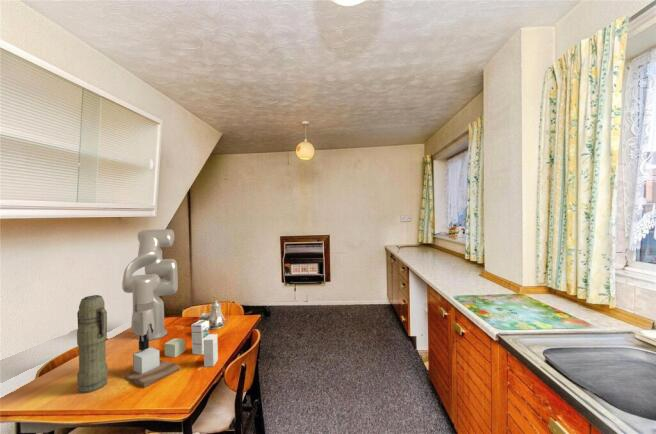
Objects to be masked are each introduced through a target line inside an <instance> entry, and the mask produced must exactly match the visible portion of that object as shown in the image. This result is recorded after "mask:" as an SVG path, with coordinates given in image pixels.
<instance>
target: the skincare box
mask: <svg viewBox="0 0 656 434" xmlns="http://www.w3.org/2000/svg"><path fill="white" fill-rule="evenodd" d="M218 352H219V346H218V334H217V333H209V334H208V335H207V337H206V338H205V339H204V354H203V363H204V365H203V366H204V368H210V367H211V368H212V367H215V365H216V364H217V361H218V360H219V353H218Z"/></svg>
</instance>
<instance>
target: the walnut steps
mask: <svg viewBox="0 0 656 434" xmlns="http://www.w3.org/2000/svg"><path fill="white" fill-rule="evenodd" d="M159 364H160V366H158V367H156V368H154V369H152V370H149V371H147V372H145V373H143V374H139V373H137V372H135V371H133V372H130V373H127V374H126V375H125V377H124V378H125V379H127V380H129V381H130V382H132V383H134V384H137V385H138V386H140V387H142V388H144V389H145V388H147V387H149V386H151V385H153V384H155V383H157V382H159V381H161V380H163V379H165V378H167V377H168V376H170V375H172V374H174V373H177V372H179V371H180V364H178V363H177V364H176V363H175V362H172V361H169V360H168V361H167V362H166V361H164V360H162V359H159Z"/></svg>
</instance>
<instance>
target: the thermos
mask: <svg viewBox="0 0 656 434" xmlns="http://www.w3.org/2000/svg"><path fill="white" fill-rule="evenodd" d="M76 313H77V314H76V315H77V330H76V342H77V343H76V345H77V346H78V371H77V374H76V375H77V377H76V380H77V382H76V383H77V392H78V393H79V394H88V393H92V392H96V391H99V390H100V389H101V388H104V386H106V385H107V384H108V375H109V373H108V370H109V369H108V364H107V362H106V357H107V355H106V354H107V353H106V341H107V338H108V332H107V331H108V312H107V310H106V308H105V300H104V298H103V296H102V295H100V294H98V295H97V294H93V295H88V296H85V297H83V298H81V300H80V303H79V305H78V311H77V312H76Z"/></svg>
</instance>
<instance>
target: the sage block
mask: <svg viewBox="0 0 656 434" xmlns="http://www.w3.org/2000/svg"><path fill="white" fill-rule="evenodd" d="M185 342H186V340H185V339H184V338H176V337H175V338H173V339H171V340H168V341H167V342H165V343H164V357H170V358H176V357H178V356H180V355H181V354H183V353H184V352H185V351H186V349H185V347H186V346H185V345H186V344H185Z"/></svg>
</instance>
